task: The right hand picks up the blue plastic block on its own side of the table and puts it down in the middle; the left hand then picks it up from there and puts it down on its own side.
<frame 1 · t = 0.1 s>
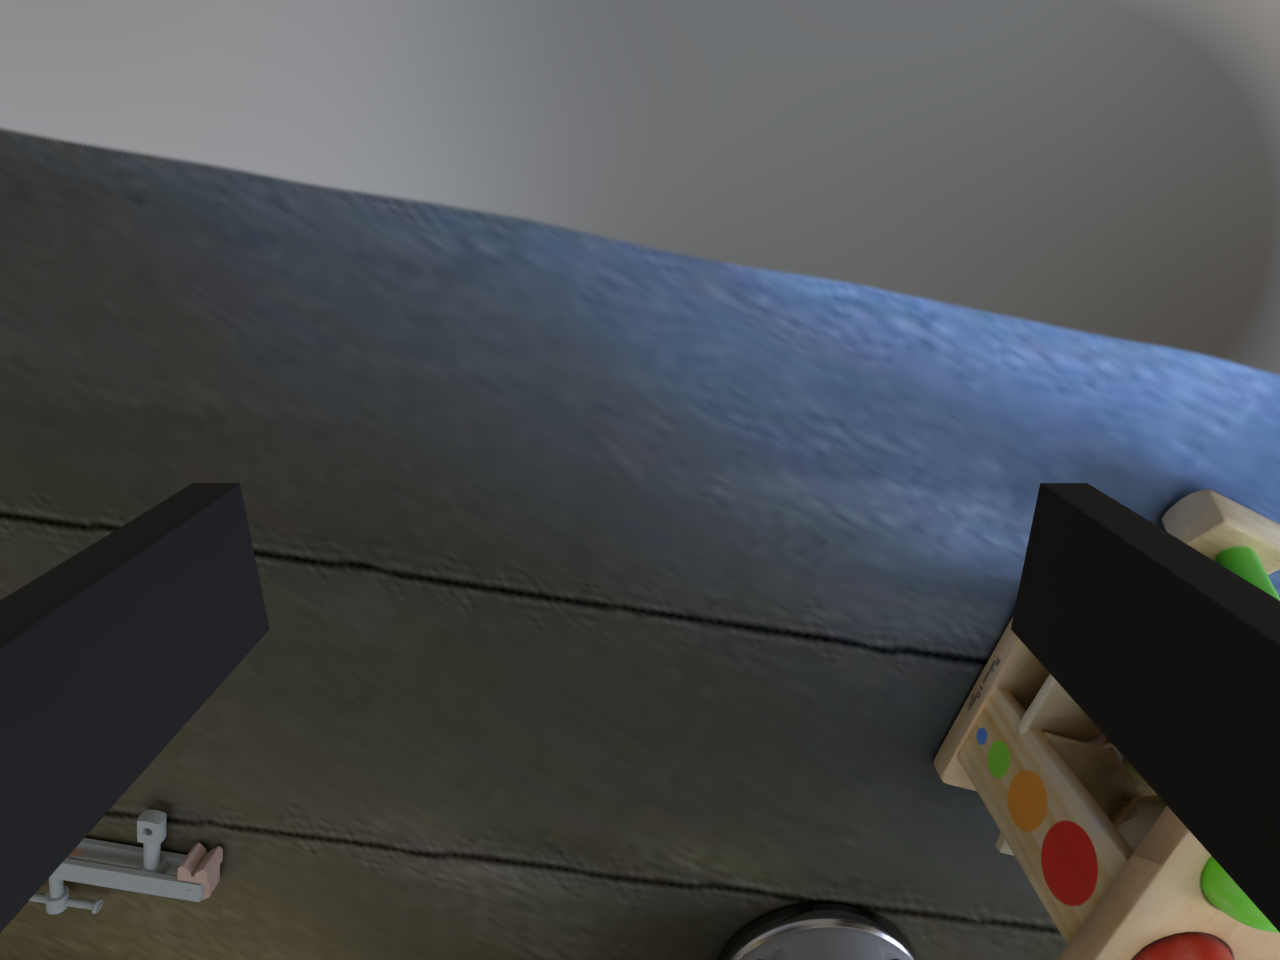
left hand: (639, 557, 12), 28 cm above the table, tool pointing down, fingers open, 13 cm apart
pounding bench toy: (1108, 649, 45), on the table
clamp: (115, 847, 51), on the table
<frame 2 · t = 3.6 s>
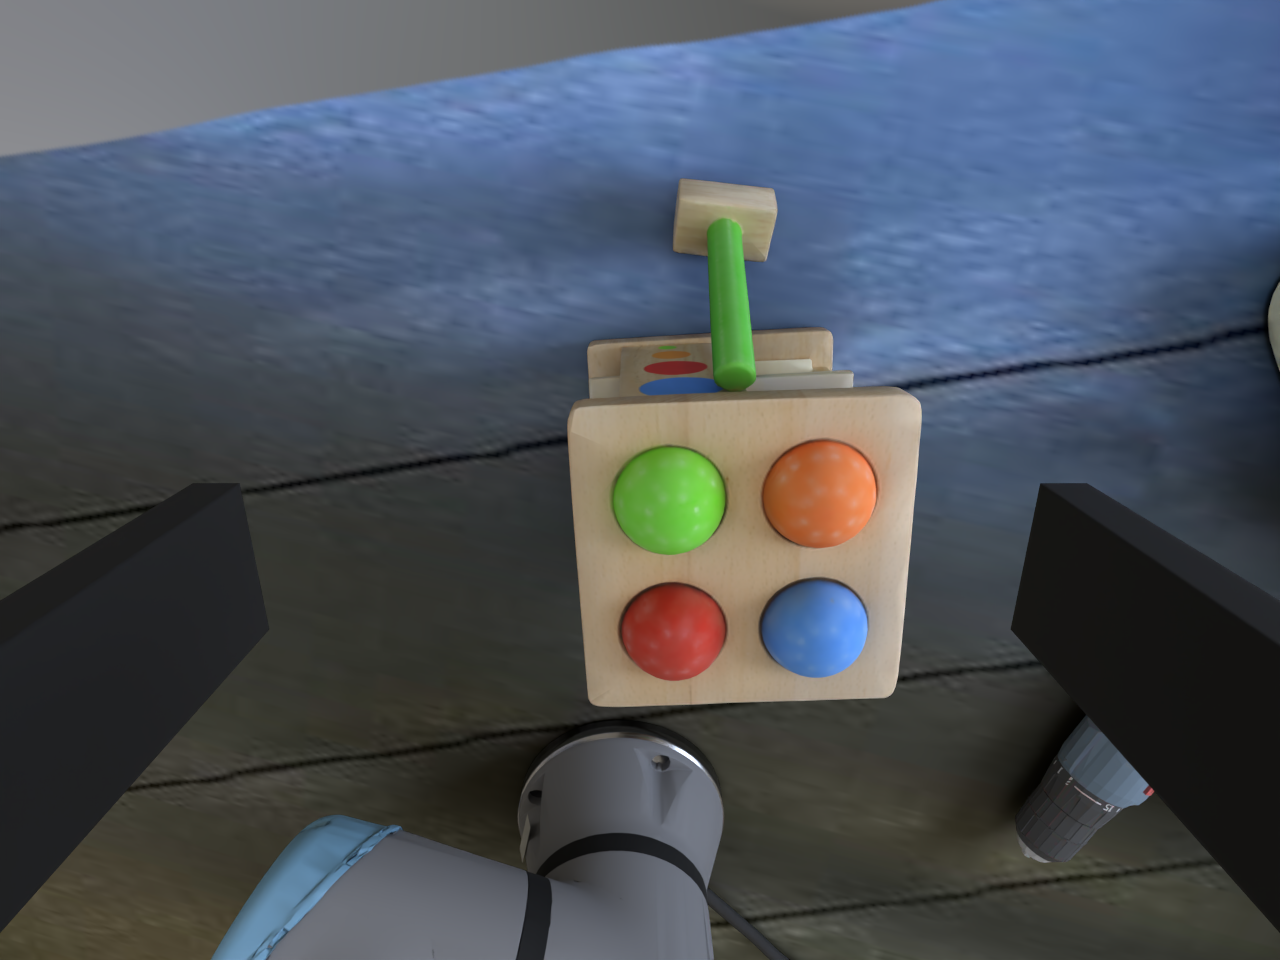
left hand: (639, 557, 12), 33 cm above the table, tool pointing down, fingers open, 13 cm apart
pounding bench toy: (708, 381, 44), on the table
power drill: (1160, 766, 55), on the table
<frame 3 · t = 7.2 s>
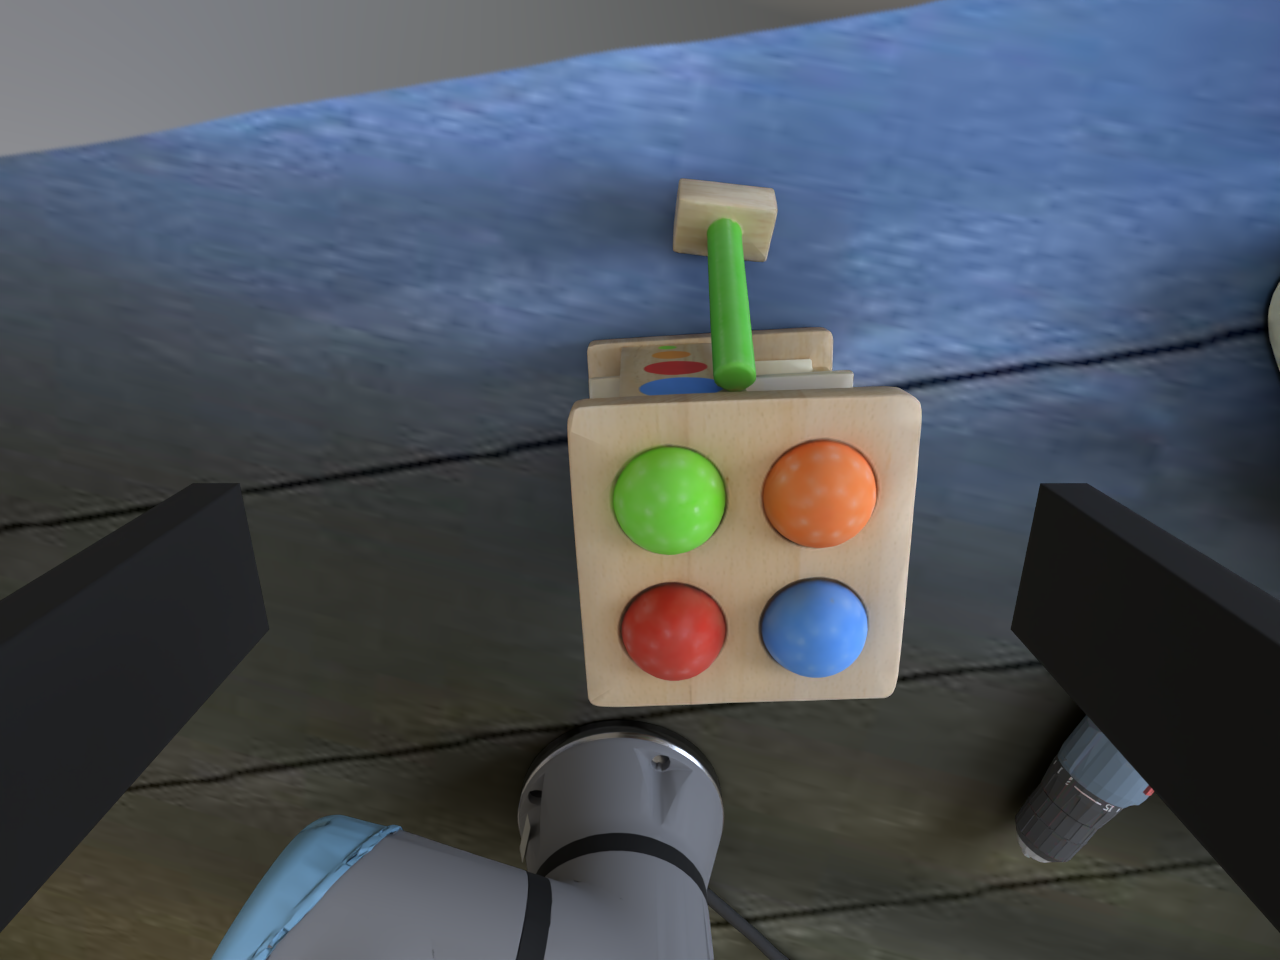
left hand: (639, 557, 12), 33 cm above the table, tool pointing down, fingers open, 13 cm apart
pounding bench toy: (708, 381, 44), on the table
power drill: (1160, 766, 55), on the table
when the right hand's fingers open (4 cm above the table, at t = 11.0 s): block drops 1 cm, on the table.
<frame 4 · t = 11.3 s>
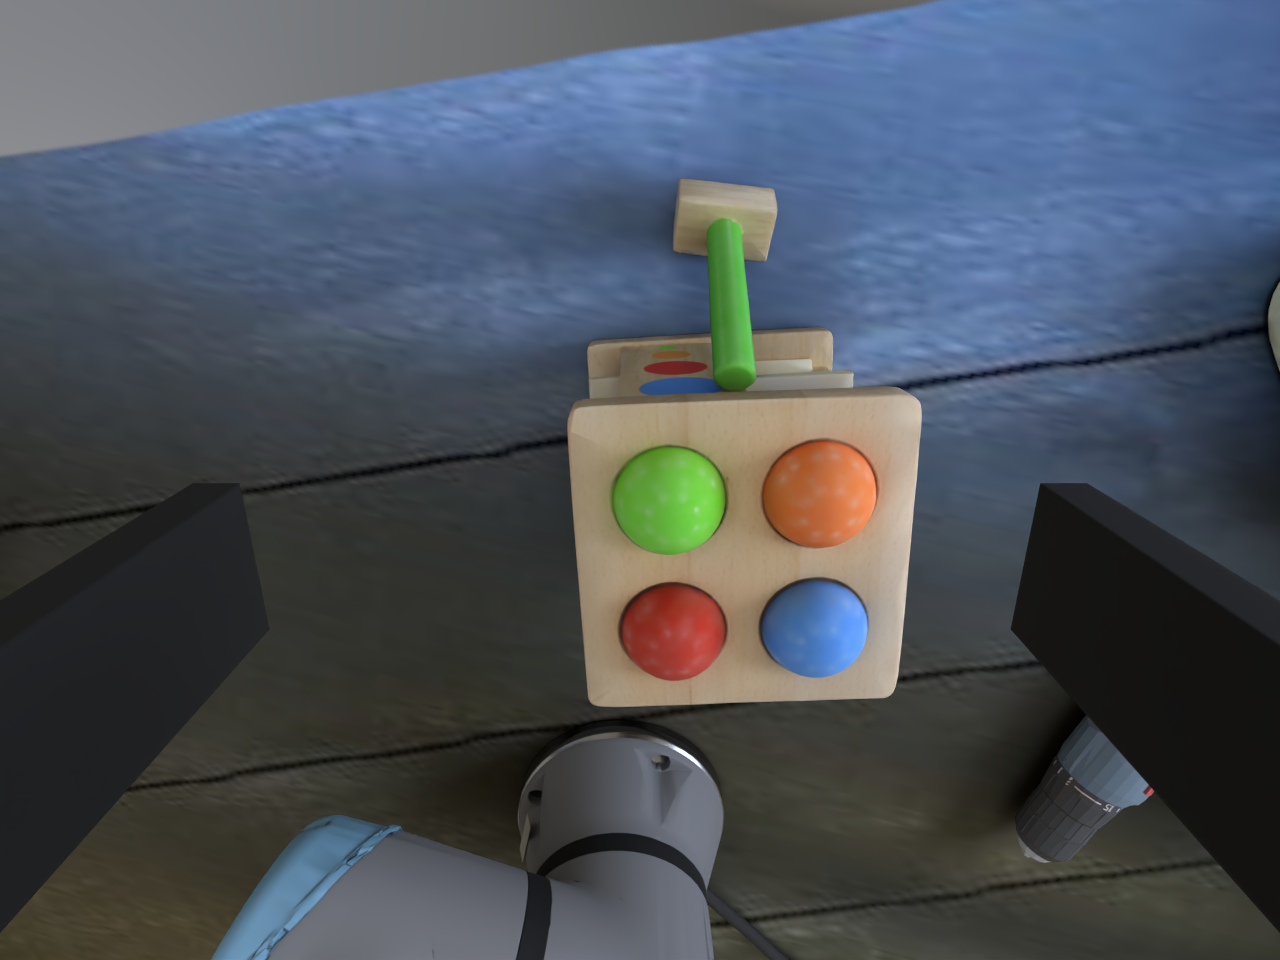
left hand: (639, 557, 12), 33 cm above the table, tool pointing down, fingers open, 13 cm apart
pounding bench toy: (708, 381, 44), on the table
power drill: (1160, 766, 55), on the table
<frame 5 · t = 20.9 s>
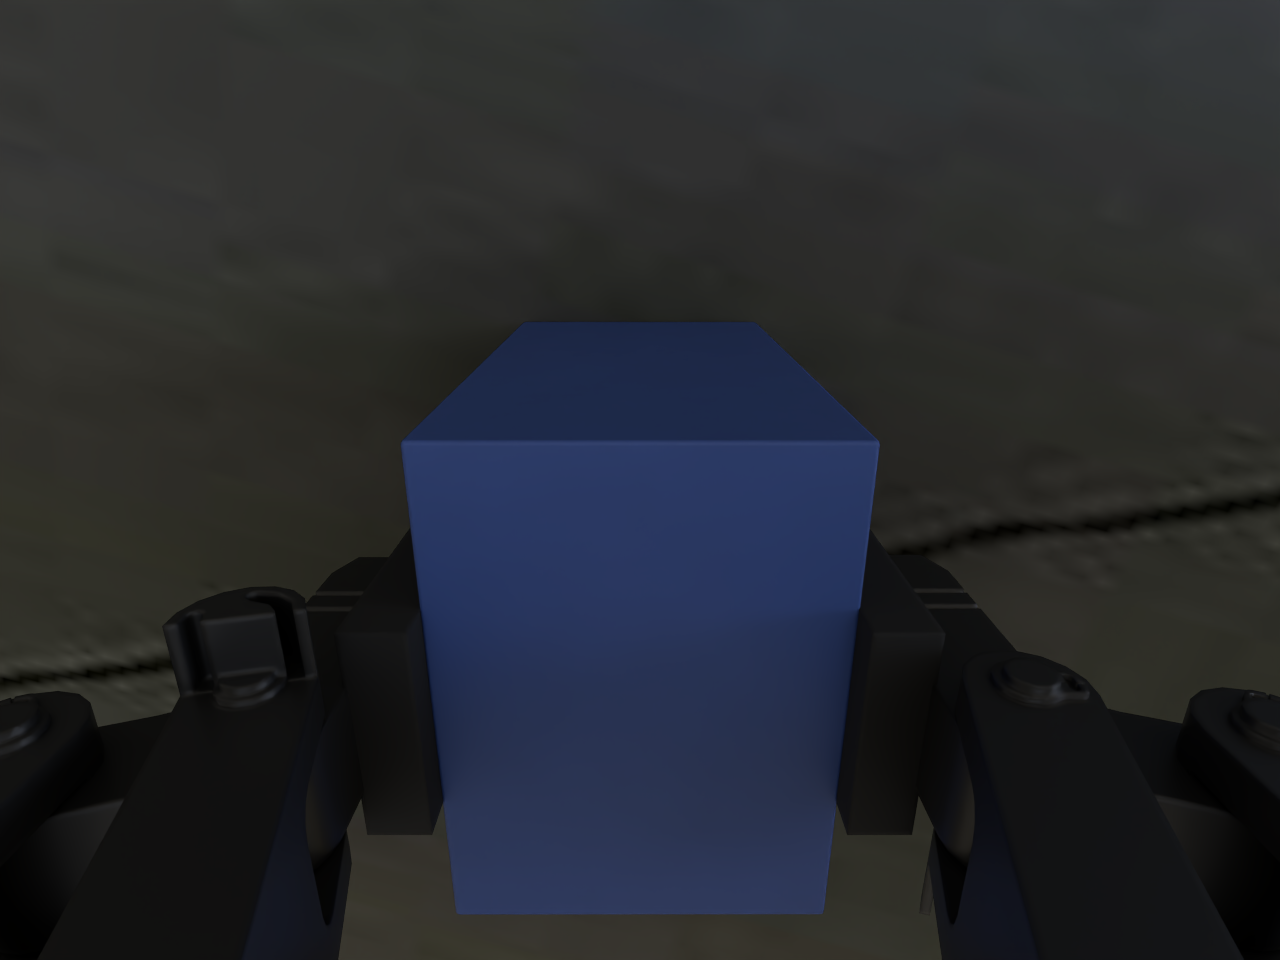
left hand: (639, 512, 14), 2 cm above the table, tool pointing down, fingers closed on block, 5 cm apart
block: (639, 469, 16), on the table, touching left hand
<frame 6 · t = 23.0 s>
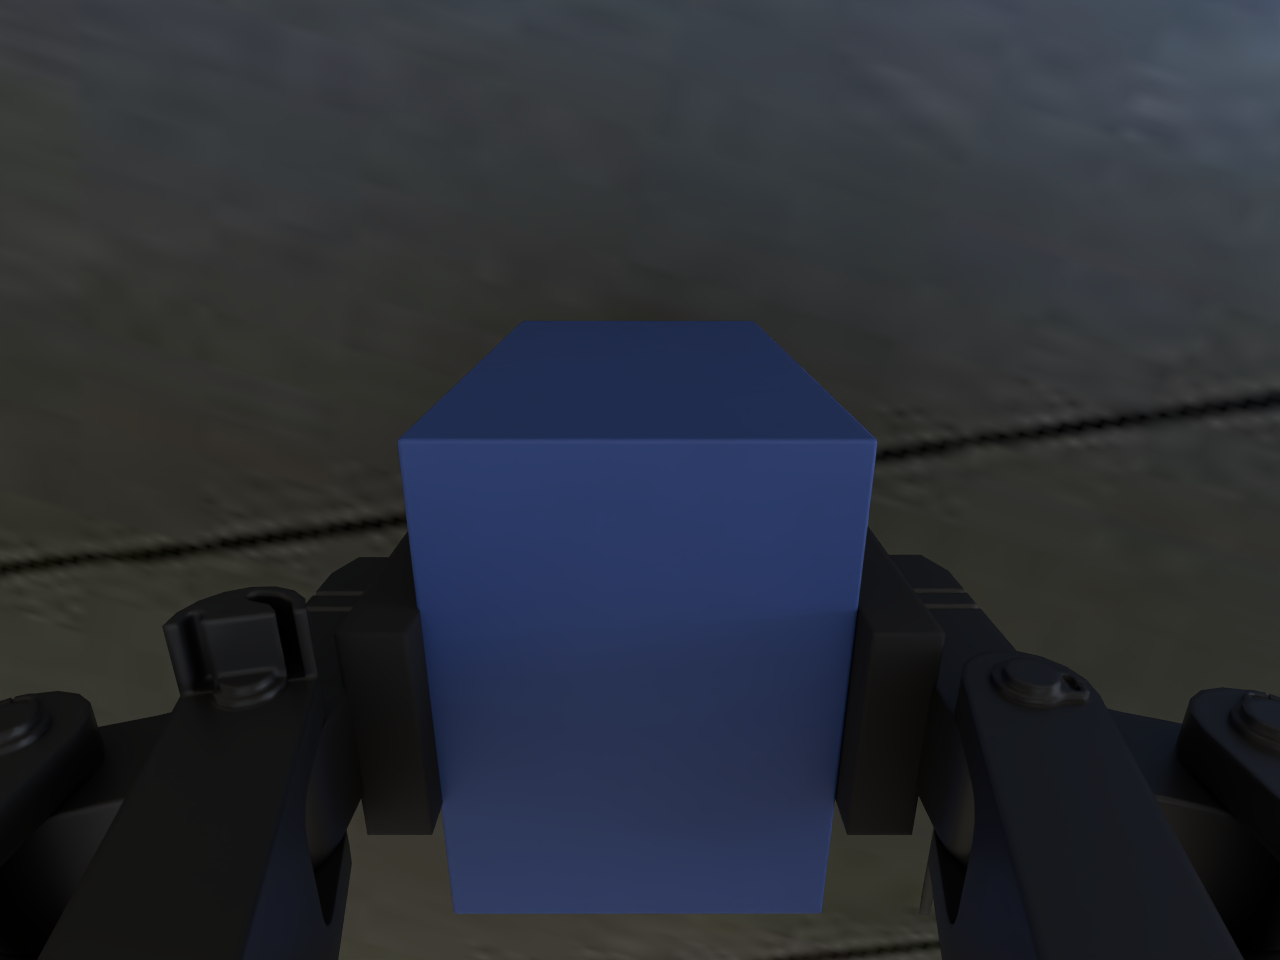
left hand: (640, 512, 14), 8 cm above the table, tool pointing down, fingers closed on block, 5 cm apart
block: (638, 468, 16), point 6 cm above the table, touching left hand
when the left hand's fingers open (4 cm above the table, at t = 25.2 s): block drops 1 cm, on the table.
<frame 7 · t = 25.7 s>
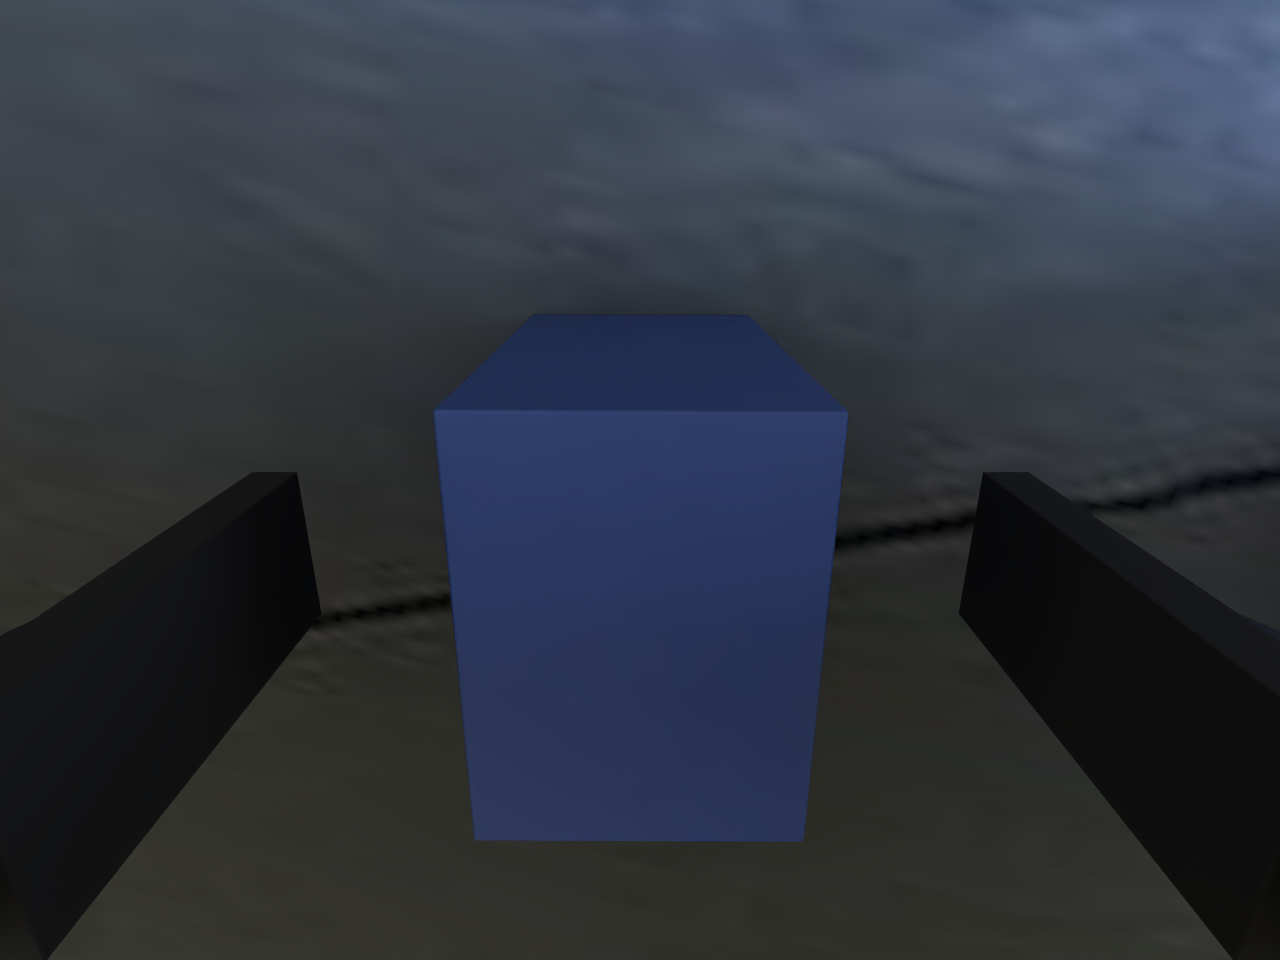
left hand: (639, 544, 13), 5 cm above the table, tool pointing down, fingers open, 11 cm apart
block: (640, 453, 17), on the table
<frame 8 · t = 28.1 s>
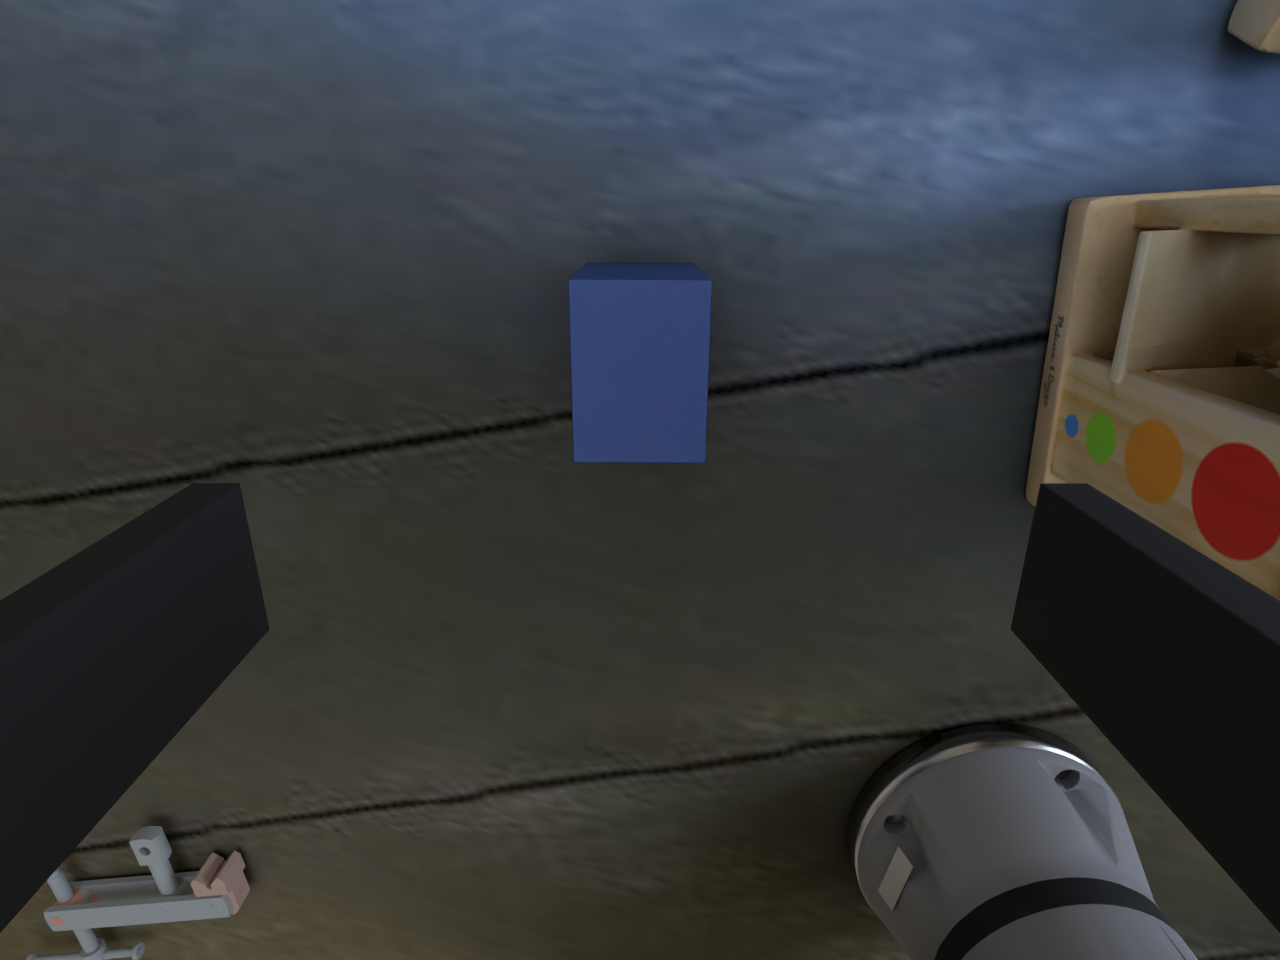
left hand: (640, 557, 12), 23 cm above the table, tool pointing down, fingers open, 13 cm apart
pounding bench toy: (1215, 259, 32), on the table
block: (640, 336, 34), on the table
clamp: (134, 882, 45), on the table
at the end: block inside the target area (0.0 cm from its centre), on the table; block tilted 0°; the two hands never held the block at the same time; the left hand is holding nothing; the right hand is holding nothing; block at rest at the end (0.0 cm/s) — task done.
